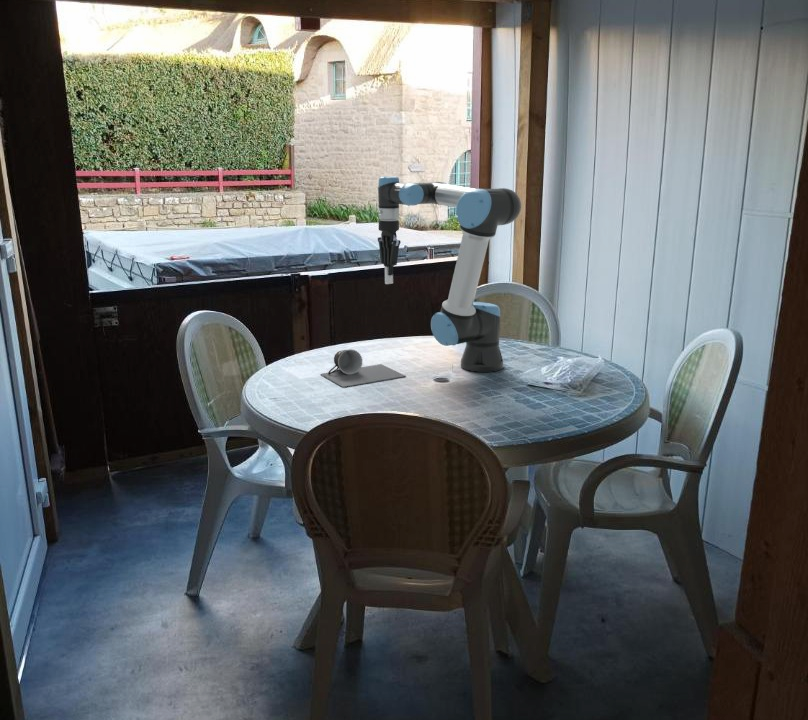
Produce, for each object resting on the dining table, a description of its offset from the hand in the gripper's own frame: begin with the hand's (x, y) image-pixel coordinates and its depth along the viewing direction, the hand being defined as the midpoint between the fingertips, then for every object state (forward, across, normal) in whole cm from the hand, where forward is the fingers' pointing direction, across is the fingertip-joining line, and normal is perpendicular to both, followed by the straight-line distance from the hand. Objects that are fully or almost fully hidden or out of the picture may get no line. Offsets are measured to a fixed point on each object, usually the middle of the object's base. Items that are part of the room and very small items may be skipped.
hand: (388, 283), depth 284 cm
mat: (+26, +23, -24) cm, 43 cm away
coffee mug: (+23, +10, -27) cm, 37 cm away
